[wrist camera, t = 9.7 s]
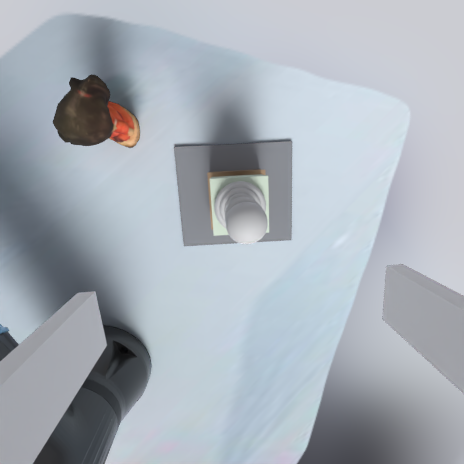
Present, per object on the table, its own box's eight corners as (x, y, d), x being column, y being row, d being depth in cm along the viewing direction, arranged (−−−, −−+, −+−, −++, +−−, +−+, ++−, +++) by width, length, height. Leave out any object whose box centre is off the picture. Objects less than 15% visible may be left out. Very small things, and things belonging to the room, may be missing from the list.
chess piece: (267, 228, 28) (287, 256, 19) (218, 234, 28) (216, 265, 19) (262, 177, 27) (282, 183, 18) (210, 184, 27) (205, 193, 18)
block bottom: (212, 221, 38) (211, 229, 33) (209, 171, 36) (207, 172, 31) (260, 218, 38) (266, 226, 33) (259, 169, 36) (265, 169, 31)
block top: (214, 225, 33) (213, 235, 28) (211, 176, 31) (209, 178, 27) (262, 222, 33) (269, 232, 28) (261, 174, 32) (268, 175, 27)
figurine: (92, 102, 34) (25, 69, 22) (136, 98, 34) (91, 62, 22) (103, 152, 35) (45, 146, 24) (144, 148, 36) (106, 140, 24)
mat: (184, 245, 39) (183, 246, 39) (174, 147, 36) (174, 146, 35) (290, 239, 39) (291, 240, 39) (291, 141, 36) (292, 141, 36)
